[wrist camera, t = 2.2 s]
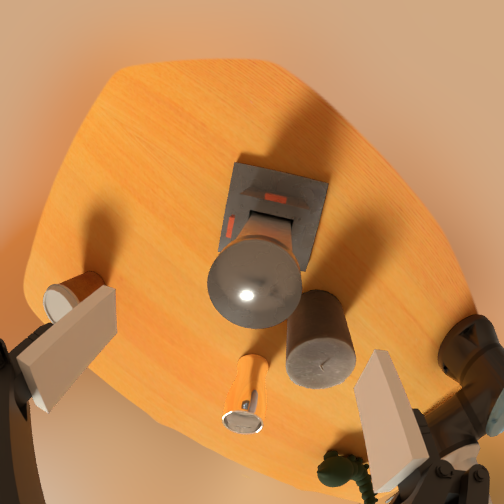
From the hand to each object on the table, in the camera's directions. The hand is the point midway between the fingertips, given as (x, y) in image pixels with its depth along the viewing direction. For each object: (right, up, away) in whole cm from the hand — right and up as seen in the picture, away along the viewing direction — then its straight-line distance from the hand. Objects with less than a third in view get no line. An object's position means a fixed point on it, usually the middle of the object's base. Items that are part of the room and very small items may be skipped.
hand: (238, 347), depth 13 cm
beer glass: (+1, -18, +40) cm, 44 cm away
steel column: (+4, +9, +29) cm, 31 cm away
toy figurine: (+27, -54, +49) cm, 77 cm away
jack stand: (+4, +10, +31) cm, 33 cm away
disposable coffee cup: (-32, -2, +39) cm, 50 cm away
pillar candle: (+11, -6, +35) cm, 38 cm away
